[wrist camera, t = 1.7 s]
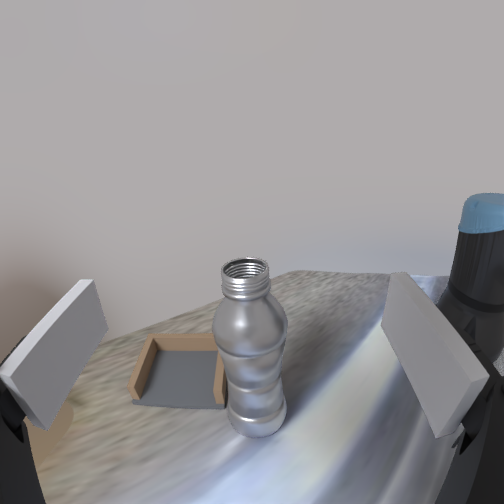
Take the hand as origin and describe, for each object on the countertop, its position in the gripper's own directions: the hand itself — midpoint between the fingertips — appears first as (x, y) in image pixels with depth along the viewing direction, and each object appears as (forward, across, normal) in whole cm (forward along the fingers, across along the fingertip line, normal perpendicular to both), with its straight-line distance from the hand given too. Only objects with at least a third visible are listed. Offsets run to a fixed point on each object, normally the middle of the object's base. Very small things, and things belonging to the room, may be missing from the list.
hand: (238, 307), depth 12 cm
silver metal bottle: (+10, 0, -23) cm, 25 cm away
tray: (+18, -10, -23) cm, 31 cm away
